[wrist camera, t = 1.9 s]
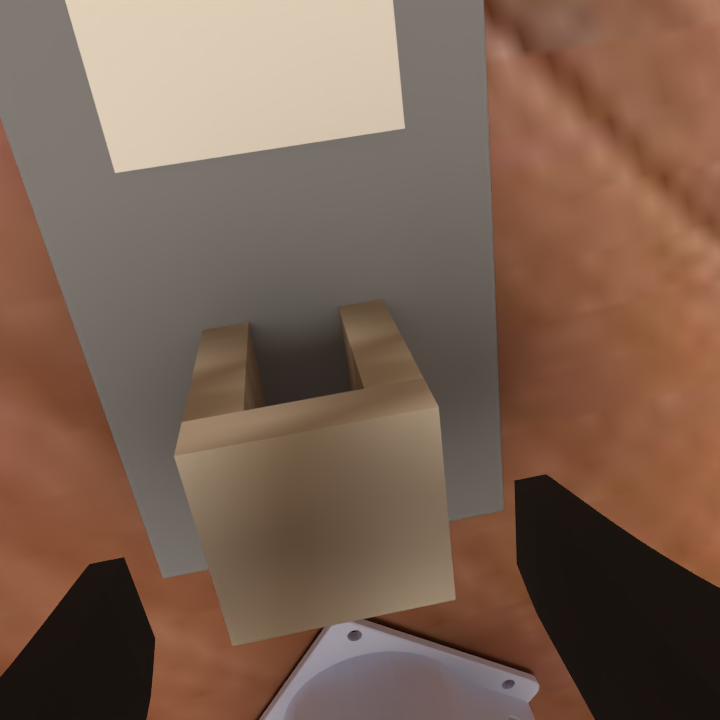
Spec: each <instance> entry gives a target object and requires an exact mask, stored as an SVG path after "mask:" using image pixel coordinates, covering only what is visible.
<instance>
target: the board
mask: <svg viewBox="0 0 720 720" xmlns="http://www.w3.org/2000/svg"><path fill="white" fill-rule="evenodd" d="M0 118H1V121H2V124H3V126H4V129H5V132H6V135H7V138H8V141H9V143H10V146H11V149H12V152H13V155H14V158H15V160H16V163H17V166H18V169H19V172H20V175H21V177H22V180H23V183H24V186H25V189H26V192H27V194H28V197H29V200H30V203H31V206H32V209H33V211H34V214H35V217H36V220H37V223H38V226H39V228H40V231H41V234H42V237H43V240H44V242H45V245H46V248H47V251H48V254H49V257H50V259H51V262H52V265H53V268H54V271H55V274H56V276H57V279H58V282H59V285H60V288H61V291H62V293H63V296H64V299H65V302H66V305H67V308H68V310H69V313H70V316H71V319H72V322H73V325H74V327H75V330H76V333H77V336H78V339H79V342H80V344H81V347H82V350H83V353H84V356H85V359H86V361H87V364H88V367H89V370H90V373H91V376H92V378H93V381H94V384H95V387H96V390H97V393H98V395H99V398H100V401H101V404H102V407H103V410H104V412H105V415H106V418H107V421H108V424H109V427H110V429H111V432H112V435H113V438H114V441H115V444H116V446H117V449H118V452H119V455H120V458H121V461H122V463H123V466H124V469H125V472H126V475H127V478H128V480H129V483H130V486H131V489H132V492H133V495H134V497H135V500H136V503H137V506H138V509H139V511H140V514H141V517H142V520H143V523H144V526H145V528H146V531H147V534H148V537H149V540H150V543H151V545H152V548H153V551H154V554H155V557H156V560H157V562H158V565H159V568H160V571H161V574H162V577H163V578H168V577H173V576H178V575H183V574H188V573H193V572H198V571H203V570H208V569H209V568H208V565H207V562H206V558H205V555H204V552H203V549H202V545H201V542H200V539H199V536H198V532H197V529H196V526H195V523H194V519H193V516H192V513H191V510H190V507H189V503H188V500H187V497H186V494H185V490H184V487H183V484H182V481H181V477H180V474H179V471H178V468H177V464H176V461H175V458H174V454H175V449H176V445H177V441H178V436H179V432H180V427H181V423H182V419H183V414H184V410H185V405H186V401H187V397H188V392H189V388H190V383H191V379H192V375H193V370H194V366H195V361H196V357H197V353H198V348H199V344H200V339H201V335H202V331H203V330H205V329H211V328H217V327H223V326H229V325H234V324H240V323H246V322H248V323H249V328H250V332H251V337H252V341H253V346H254V350H255V355H256V359H257V364H258V368H259V373H260V377H261V381H262V386H263V390H264V395H265V399H266V404H267V406H272V405H278V404H283V403H289V402H294V401H300V400H305V399H311V398H316V397H321V396H327V395H332V394H338V393H343V392H349V391H351V387H350V380H349V374H348V367H347V361H346V354H345V348H344V342H343V335H342V329H341V322H340V316H339V309H338V306H344V305H350V304H356V303H362V302H367V301H373V300H379V299H383V301H384V303H385V305H386V307H387V309H388V311H389V313H390V315H391V316H392V318H393V320H394V322H395V324H396V326H397V328H398V330H399V332H400V334H401V336H402V338H403V339H404V341H405V343H406V345H407V347H408V349H409V351H410V353H411V355H412V357H413V359H414V360H415V362H416V364H417V366H418V368H419V370H420V372H421V374H422V376H423V378H424V380H425V382H426V383H427V385H428V387H429V389H430V391H431V393H432V395H433V397H434V399H435V401H436V403H437V405H438V406H439V416H440V427H441V439H442V450H443V461H444V473H445V484H446V496H447V507H448V518H449V521H454V520H459V519H464V518H469V517H474V516H479V515H484V514H489V513H494V512H499V511H504V501H503V476H502V451H501V426H500V401H499V376H498V350H497V325H496V300H495V275H494V250H493V225H492V200H491V174H490V149H489V124H488V99H487V74H486V49H485V24H484V0H0Z"/></svg>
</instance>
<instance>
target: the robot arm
mask: <svg viewBox="0 0 720 720" xmlns="http://www.w3.org/2000/svg"><path fill="white" fill-rule="evenodd" d="M515 514H516V549H517V565H518V568H519V570H520V573H521V575H522V578H523V581H524V583H525V586H526V588H527V591H528V593H529V596H530V598H531V600H532V603H533V605H534V608H535V610H536V612H537V615H538V616H539V618H540V620H541V622H542V624H543V626H544V628H545V629H546V631H547V633H548V635H549V637H550V639H551V640H552V642H553V644H554V646H555V648H556V650H557V651H558V653H559V655H560V657H561V659H562V661H563V662H564V664H565V666H566V668H567V670H568V671H569V673H570V675H571V677H572V679H573V680H574V682H575V684H576V686H577V688H578V689H579V691H580V693H581V695H582V697H583V698H584V700H585V702H586V704H587V706H588V708H589V709H590V711H591V713H592V715H593V717H594V718H595V720H720V588H719V587H717V586H715V585H713V584H711V583H709V582H708V581H706V580H704V579H702V578H700V577H699V576H697V575H695V574H693V573H692V572H690V571H688V570H687V569H685V568H683V567H682V566H680V565H678V564H677V563H675V562H673V561H672V560H670V559H668V558H667V557H665V556H663V555H662V554H660V553H659V552H657V551H655V550H654V549H652V548H651V547H649V546H648V545H646V544H644V543H643V542H641V541H640V540H638V539H637V538H635V537H634V536H632V535H631V534H629V533H628V532H626V531H625V530H623V529H622V528H620V527H619V526H617V525H616V524H615V523H613V522H612V521H610V520H609V519H607V518H606V517H605V516H603V515H602V514H600V513H599V512H598V511H596V510H595V509H593V508H592V507H591V506H589V505H588V504H586V503H585V502H584V501H582V500H581V499H580V498H578V497H577V496H575V495H574V494H573V493H571V492H570V491H569V490H567V489H566V488H564V487H563V486H562V485H560V484H559V483H558V482H556V481H555V480H553V479H552V478H551V477H549V476H548V475H541V476H536V477H530V478H525V479H520V480H515ZM354 630H358V631H356V632H351V631H354ZM154 649H155V637H154V634H153V632H152V629H151V626H150V624H149V621H148V619H147V616H146V613H145V611H144V608H143V605H142V603H141V600H140V598H139V595H138V592H137V590H136V587H135V585H134V582H133V579H132V577H131V574H130V572H129V569H128V566H127V564H126V561H125V559H124V558H119V559H114V560H108V561H103V562H98V563H93V564H89V566H88V567H87V568H86V569H85V571H84V572H83V573H82V574H81V576H80V577H79V578H78V579H77V581H76V582H75V583H74V585H73V586H72V587H71V588H70V590H69V591H68V592H67V594H66V595H65V596H64V598H63V599H62V600H61V601H60V603H59V604H58V605H57V607H56V608H55V609H54V611H53V612H52V613H51V614H50V616H49V617H48V618H47V620H46V621H45V622H44V624H43V625H42V626H41V627H40V629H39V630H38V631H37V633H36V634H35V635H34V636H33V638H32V639H31V640H30V641H29V643H28V644H27V645H26V646H25V648H24V649H23V650H22V651H21V653H20V654H19V655H18V656H17V658H16V659H15V660H14V662H13V663H12V664H11V665H10V667H9V668H8V669H7V670H6V671H5V672H4V674H3V675H2V676H1V677H0V720H146V718H147V713H148V708H149V703H150V697H151V687H152V676H153V664H154ZM538 690H539V684H538V682H537V679H536V677H535V676H533V675H531V674H528V673H525V672H522V671H519V670H516V669H513V668H510V667H507V666H504V665H501V664H498V663H495V662H492V661H489V660H486V659H483V658H480V657H477V656H474V655H470V654H467V653H464V652H461V651H458V650H455V649H452V648H449V647H446V646H443V645H440V644H437V643H434V642H431V641H428V640H425V639H422V638H419V637H416V636H413V635H410V634H407V633H403V632H400V631H397V630H394V629H391V628H388V627H385V626H382V625H379V624H376V623H373V622H370V621H367V620H364V619H361V620H356V621H351V622H346V623H342V624H337V625H332V626H327V627H324V628H323V630H322V631H321V633H320V634H319V636H318V637H317V638H316V640H315V641H314V643H313V644H312V645H311V647H310V648H309V650H308V651H307V653H306V654H305V655H304V657H303V658H302V660H301V661H300V662H299V664H298V665H297V667H296V668H295V669H294V671H293V672H292V674H291V675H290V677H289V678H288V679H287V681H286V682H285V684H284V685H283V686H282V688H281V689H280V691H279V692H278V694H277V695H276V696H275V698H274V699H273V701H272V702H271V703H270V705H269V706H268V708H267V709H266V711H265V712H264V713H263V715H262V716H261V718H260V719H259V720H535V718H534V716H533V713H532V711H531V709H530V706H529V704H528V703H529V701H530V700H531V699H532V698H533V697H534V696H535V695H536V694H537V692H538Z"/></svg>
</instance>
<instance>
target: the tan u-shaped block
mask: <svg viewBox="0 0 720 720" xmlns="http://www.w3.org/2000/svg"><path fill="white" fill-rule="evenodd" d="M338 309H339V316H340V322H341V329H342V335H343V342H344V348H345V354H346V361H347V367H348V374H349V380H350V387H351V391H349V392H343V393H338V394H332V395H327V396H321V397H316V398H311V399H305V400H300V401H294V402H289V403H283V404H278V405H272V406H267V404H266V399H265V395H264V390H263V386H262V381H261V377H260V373H259V368H258V364H257V359H256V355H255V350H254V346H253V341H252V337H251V332H250V328H249V323H248V322H246V323H240V324H234V325H229V326H223V327H217V328H211V329H205V330H203V331H202V335H201V339H200V344H199V348H198V353H197V357H196V361H195V366H194V370H193V375H192V379H191V383H190V388H189V392H188V397H187V401H186V405H185V410H184V414H183V419H182V423H181V427H180V432H179V436H178V441H177V445H176V449H175V454H174V458H175V461H176V464H177V468H178V471H179V474H180V477H181V481H182V484H183V487H184V490H185V494H186V497H187V500H188V503H189V507H190V510H191V513H192V516H193V519H194V523H195V526H196V529H197V532H198V536H199V539H200V542H201V545H202V549H203V552H204V555H205V558H206V562H207V565H208V568H209V571H210V575H211V578H212V581H213V584H214V587H215V591H216V594H217V597H218V600H219V604H220V607H221V610H222V613H223V617H224V620H225V623H226V626H227V630H228V633H229V636H230V639H231V643H232V646H236V645H241V644H246V643H251V642H256V641H260V640H265V639H270V638H275V637H279V636H284V635H289V634H294V633H299V632H303V631H308V630H313V629H318V628H322V627H327V626H332V625H337V624H342V623H346V622H351V621H356V620H361V619H366V618H370V617H375V616H380V615H385V614H389V613H394V612H399V611H404V610H409V609H413V608H418V607H423V606H428V605H433V604H437V603H442V602H447V601H452V600H456V598H455V586H454V575H453V564H452V552H451V541H450V530H449V518H448V507H447V496H446V484H445V473H444V461H443V450H442V439H441V427H440V416H439V406H438V405H437V403H436V401H435V399H434V397H433V395H432V393H431V391H430V389H429V387H428V385H427V383H426V382H425V380H424V378H423V376H422V374H421V372H420V370H419V368H418V366H417V364H416V362H415V360H414V359H413V357H412V355H411V353H410V351H409V349H408V347H407V345H406V343H405V341H404V339H403V338H402V336H401V334H400V332H399V330H398V328H397V326H396V324H395V322H394V320H393V318H392V316H391V315H390V313H389V311H388V309H387V307H386V305H385V303H384V301H383V299H379V300H373V301H367V302H362V303H356V304H350V305H344V306H338Z"/></svg>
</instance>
